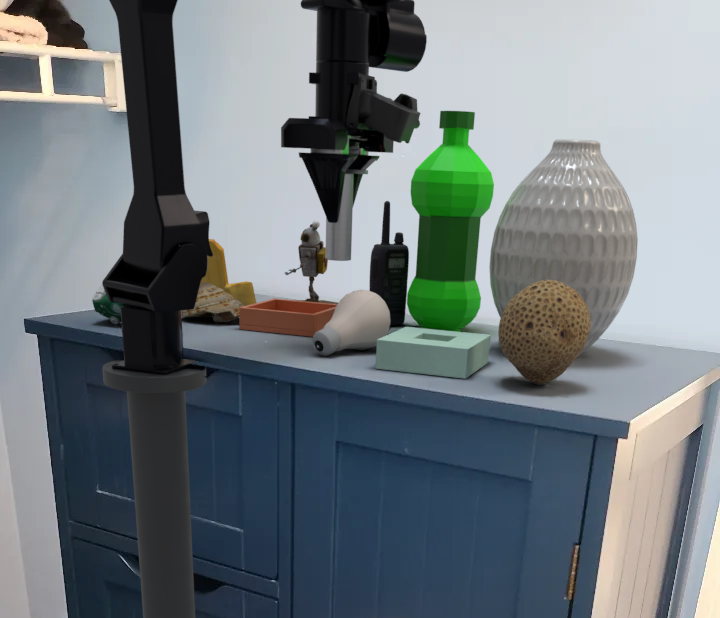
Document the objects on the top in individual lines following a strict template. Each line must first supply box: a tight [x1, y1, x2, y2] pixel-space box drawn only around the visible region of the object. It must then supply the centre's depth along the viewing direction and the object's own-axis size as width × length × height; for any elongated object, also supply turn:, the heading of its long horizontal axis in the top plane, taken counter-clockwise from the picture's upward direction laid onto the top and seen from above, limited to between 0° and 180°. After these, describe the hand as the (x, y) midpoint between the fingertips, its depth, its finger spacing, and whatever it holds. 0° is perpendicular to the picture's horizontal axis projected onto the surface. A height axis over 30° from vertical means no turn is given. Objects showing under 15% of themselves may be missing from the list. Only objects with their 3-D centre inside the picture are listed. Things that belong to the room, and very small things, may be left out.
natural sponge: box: [497, 280, 591, 386], centre depth 93 cm, size 9×9×10 cm
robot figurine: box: [284, 219, 339, 304], centre depth 131 cm, size 11×9×12 cm
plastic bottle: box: [406, 110, 495, 332], centre depth 118 cm, size 10×11×25 cm
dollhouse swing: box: [200, 238, 257, 306], centre depth 134 cm, size 10×10×9 cm
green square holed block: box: [375, 326, 492, 380], centre depth 102 cm, size 10×10×3 cm
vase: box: [488, 138, 639, 357], centre depth 107 cm, size 16×16×22 cm
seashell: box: [181, 282, 244, 323], centre depth 123 cm, size 8×6×8 cm
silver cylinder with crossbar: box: [325, 169, 369, 262], centre depth 109 cm, size 3×6×10 cm, turn 68°
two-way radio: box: [369, 200, 410, 326], centre depth 123 cm, size 6×4×15 cm
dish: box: [238, 298, 337, 338], centre depth 121 cm, size 10×10×3 cm
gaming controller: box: [91, 285, 123, 325], centre depth 118 cm, size 9×4×6 cm
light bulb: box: [312, 289, 391, 357], centre depth 107 cm, size 7×7×11 cm
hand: (338, 222), depth 109 cm, fingers closed on silver cylinder with crossbar, 3 cm apart
